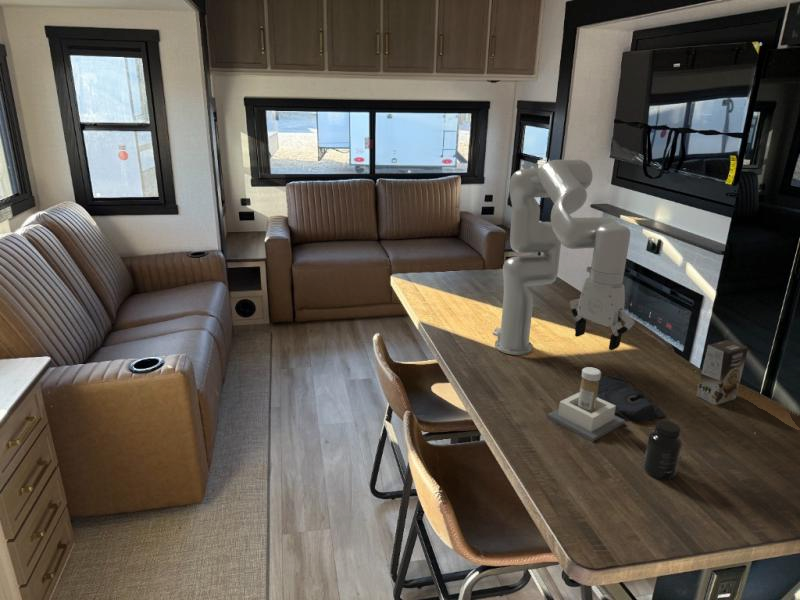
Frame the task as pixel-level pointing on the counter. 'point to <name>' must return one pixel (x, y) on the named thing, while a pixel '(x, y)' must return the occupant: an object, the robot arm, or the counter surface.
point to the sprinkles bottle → (589, 389)
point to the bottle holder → (586, 418)
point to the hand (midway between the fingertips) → (596, 341)
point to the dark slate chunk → (627, 400)
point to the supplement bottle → (663, 450)
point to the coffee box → (722, 372)
